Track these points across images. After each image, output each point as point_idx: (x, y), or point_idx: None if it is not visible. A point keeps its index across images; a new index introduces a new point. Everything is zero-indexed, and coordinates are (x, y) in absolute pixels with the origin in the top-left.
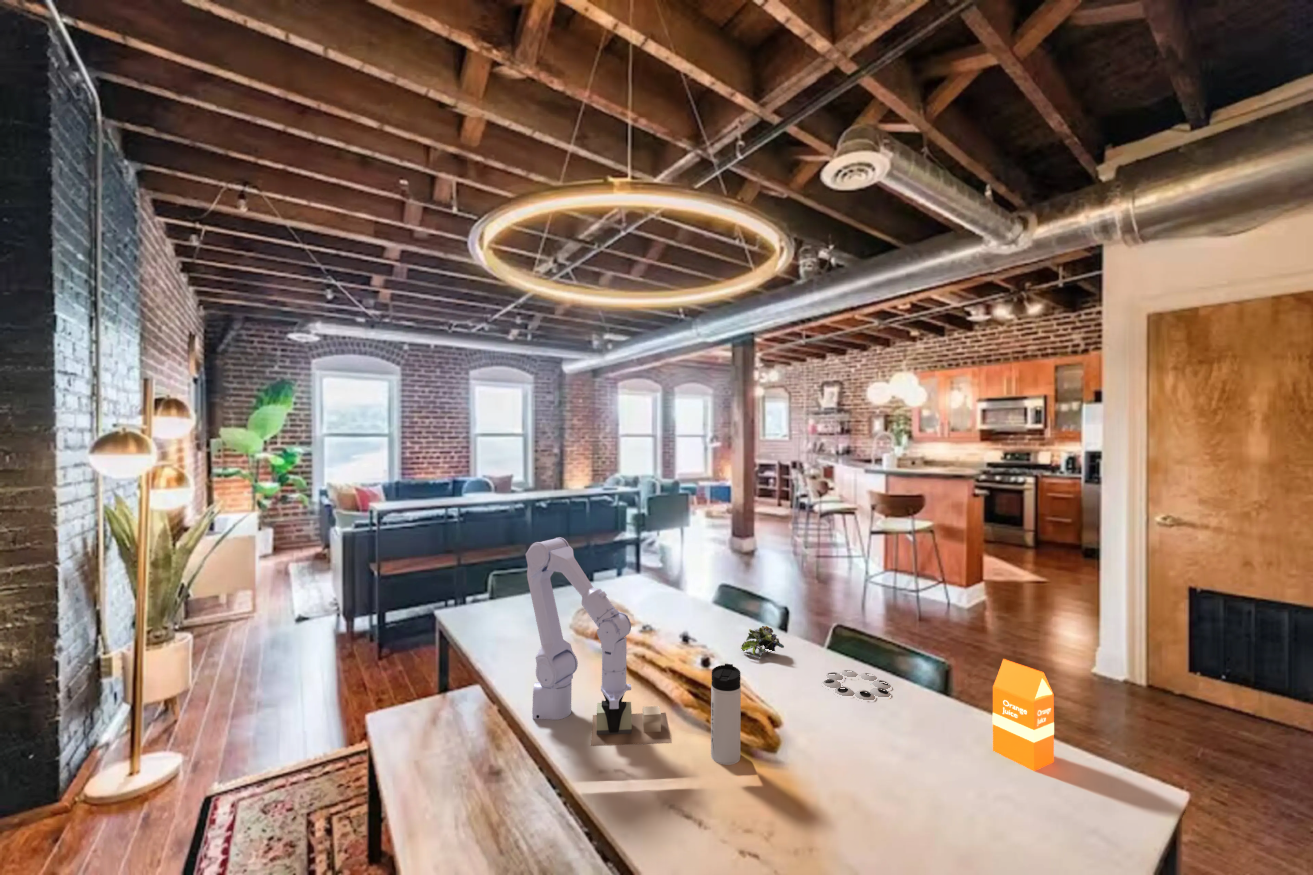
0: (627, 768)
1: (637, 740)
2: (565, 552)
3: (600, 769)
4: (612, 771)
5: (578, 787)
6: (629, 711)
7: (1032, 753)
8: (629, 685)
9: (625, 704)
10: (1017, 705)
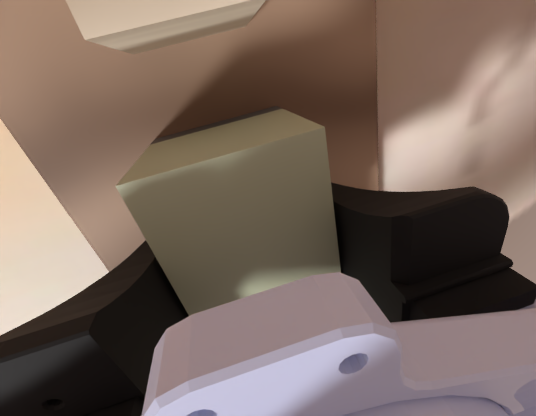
0: (477, 71)
1: (341, 53)
2: None
3: (461, 172)
4: (481, 128)
5: (525, 203)
6: (320, 148)
7: None
8: (250, 390)
9: (477, 203)
10: None
